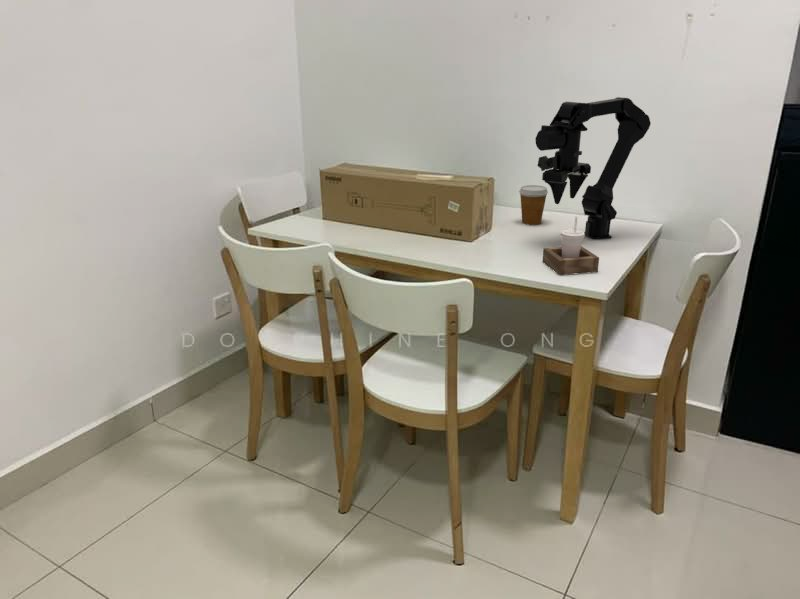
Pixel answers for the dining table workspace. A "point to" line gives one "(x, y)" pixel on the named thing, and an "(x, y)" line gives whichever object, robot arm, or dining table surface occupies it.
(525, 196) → the disposable coffee cup
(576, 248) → the smoothie
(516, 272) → the dining table surface
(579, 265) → the socket block
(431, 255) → the dining table surface
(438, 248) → the dining table surface
